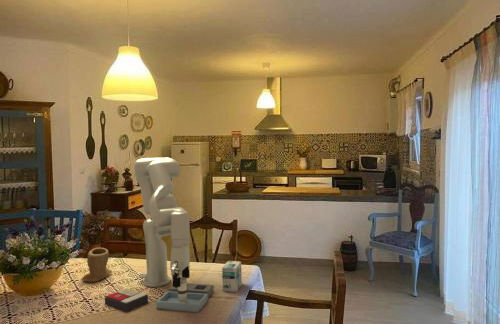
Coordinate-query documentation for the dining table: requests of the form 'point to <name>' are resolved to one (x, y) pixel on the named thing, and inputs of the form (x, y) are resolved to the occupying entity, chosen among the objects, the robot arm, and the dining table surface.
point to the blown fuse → (182, 290)
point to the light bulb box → (232, 276)
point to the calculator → (126, 300)
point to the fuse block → (196, 288)
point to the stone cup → (97, 264)
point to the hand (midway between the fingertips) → (181, 282)
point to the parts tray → (171, 303)
